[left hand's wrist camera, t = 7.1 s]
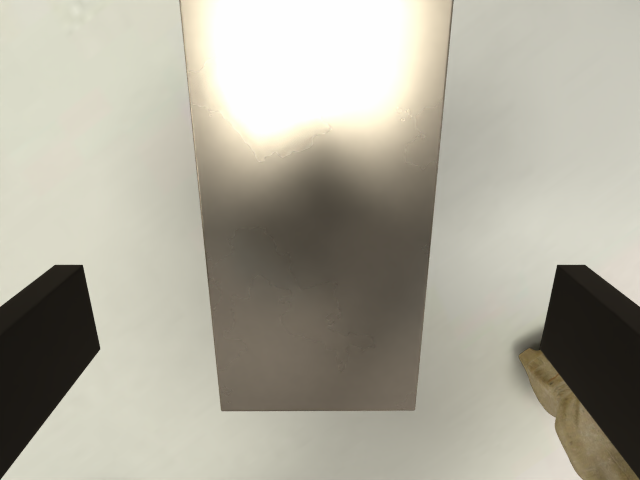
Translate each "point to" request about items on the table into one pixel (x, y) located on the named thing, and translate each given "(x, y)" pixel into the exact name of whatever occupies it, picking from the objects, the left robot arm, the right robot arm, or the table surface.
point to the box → (317, 193)
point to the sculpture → (574, 423)
